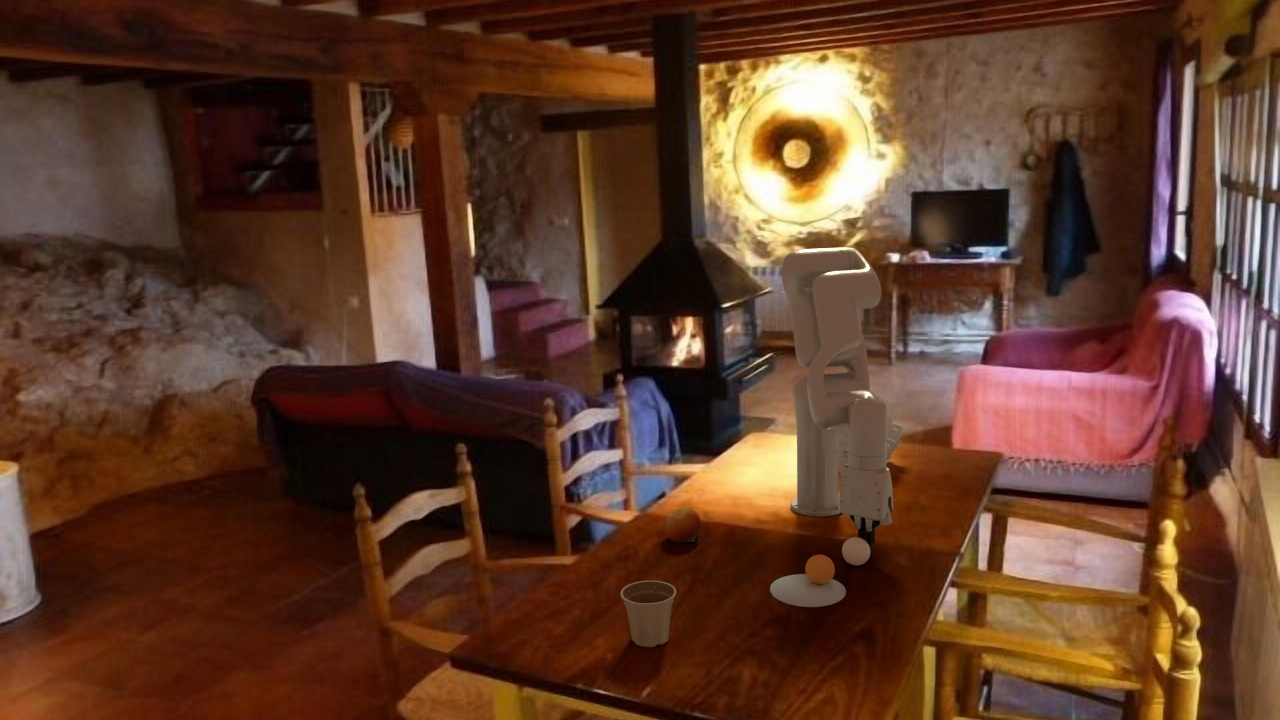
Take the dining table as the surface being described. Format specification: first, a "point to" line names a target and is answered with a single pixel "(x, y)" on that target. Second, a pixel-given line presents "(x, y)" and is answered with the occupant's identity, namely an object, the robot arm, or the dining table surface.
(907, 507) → the dining table surface
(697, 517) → the fruit
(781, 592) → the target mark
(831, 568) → the orange ball
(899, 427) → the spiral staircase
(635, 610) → the flower pot
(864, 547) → the cue ball
